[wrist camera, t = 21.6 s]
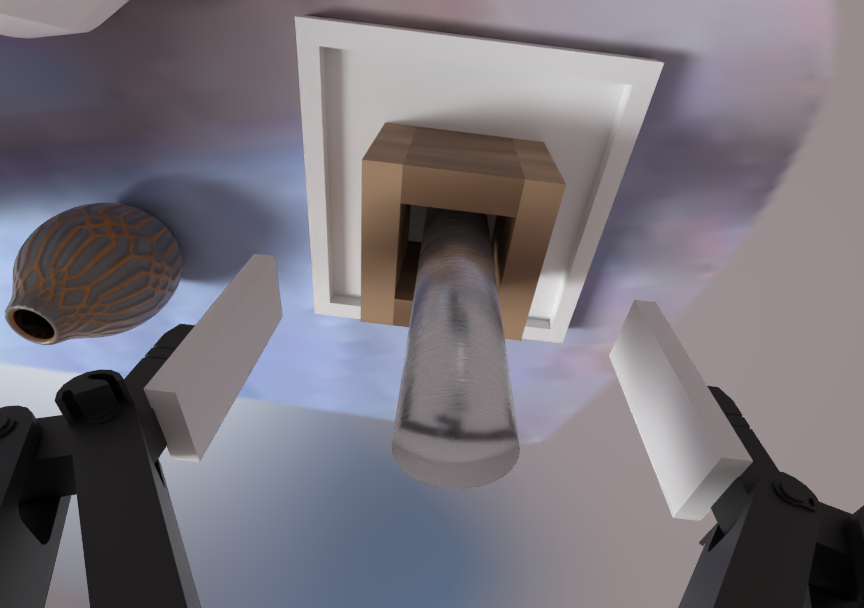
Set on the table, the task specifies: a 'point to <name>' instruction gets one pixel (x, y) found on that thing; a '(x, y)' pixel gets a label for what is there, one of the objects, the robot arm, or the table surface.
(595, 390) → the table surface
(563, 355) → the table surface
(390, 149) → the wooden square holder
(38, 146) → the table surface
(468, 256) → the pin
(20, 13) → the cup
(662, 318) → the robot arm
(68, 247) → the vase
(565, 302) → the tray
